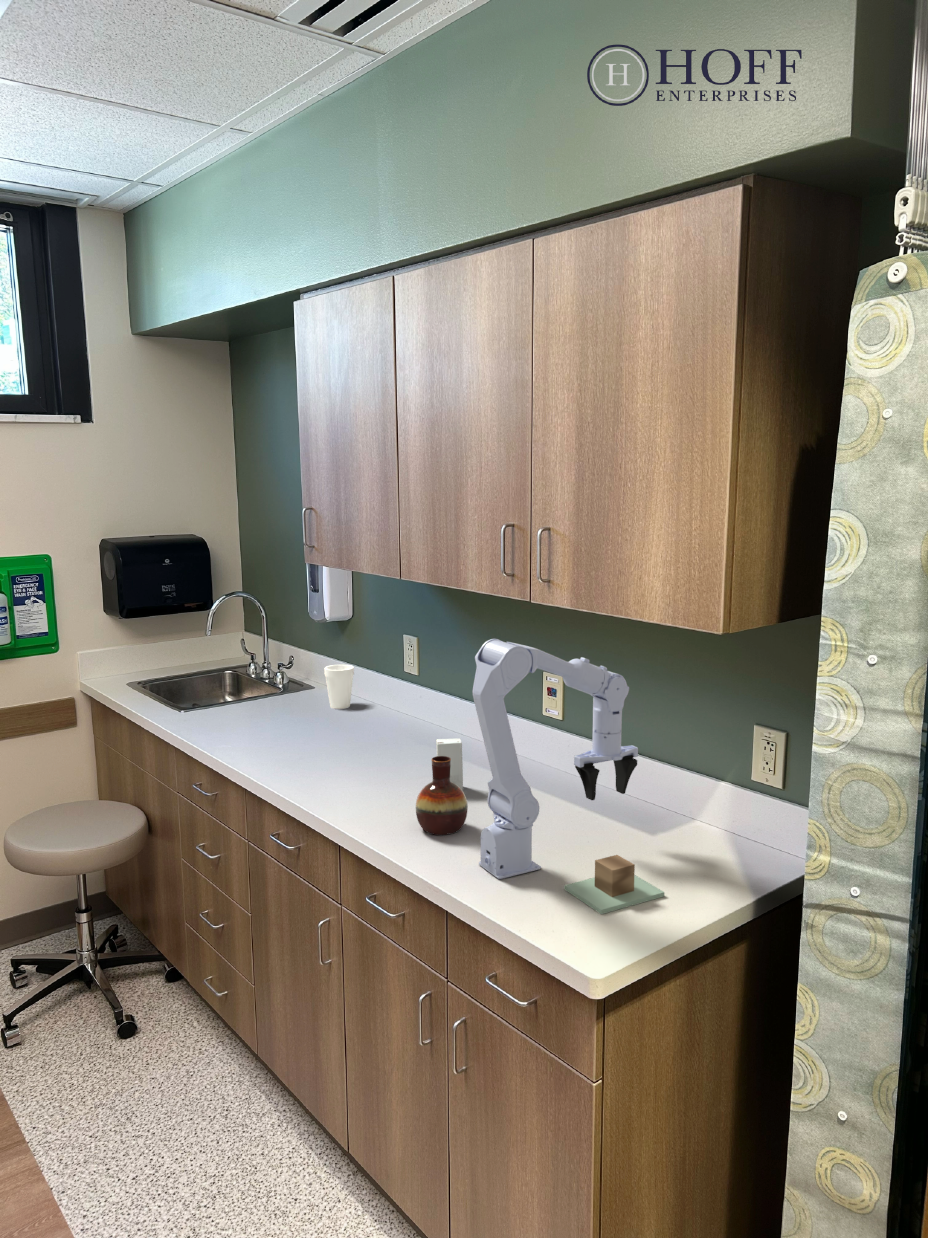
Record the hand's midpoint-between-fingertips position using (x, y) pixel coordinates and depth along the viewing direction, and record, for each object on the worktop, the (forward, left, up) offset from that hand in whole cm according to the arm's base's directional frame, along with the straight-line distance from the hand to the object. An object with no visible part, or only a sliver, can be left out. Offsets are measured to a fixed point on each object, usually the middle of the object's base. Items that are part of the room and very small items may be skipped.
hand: (605, 795), depth 186 cm
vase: (-25, +24, -11) cm, 36 cm away
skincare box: (-12, +45, -11) cm, 48 cm away
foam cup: (-6, +133, -11) cm, 134 cm away
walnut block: (-12, -19, -10) cm, 24 cm away
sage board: (-12, -19, -10) cm, 24 cm away
